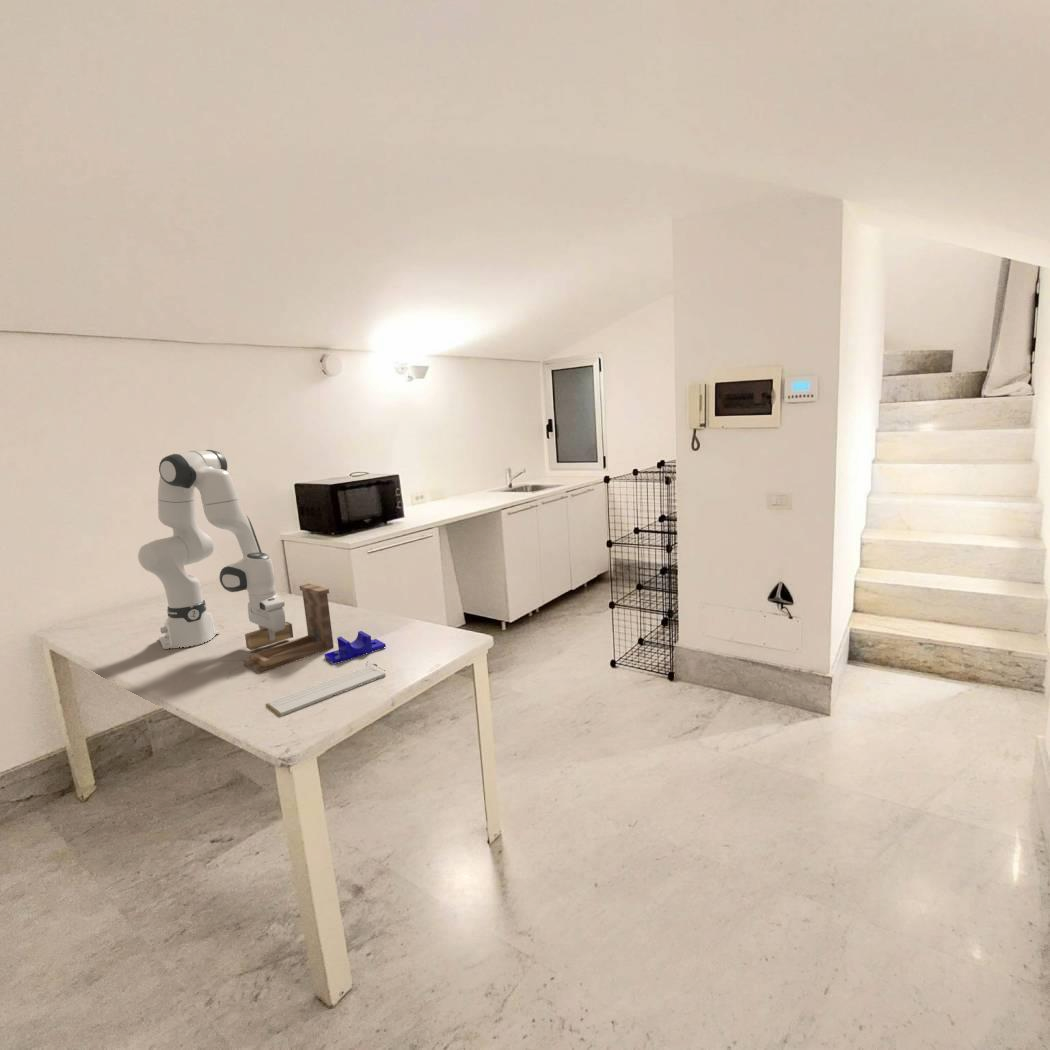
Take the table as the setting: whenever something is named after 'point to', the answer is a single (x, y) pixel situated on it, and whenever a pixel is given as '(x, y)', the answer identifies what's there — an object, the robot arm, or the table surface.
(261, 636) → the oak rail piece
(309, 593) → the wooden l-shaped stand
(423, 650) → the table surface
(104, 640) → the table surface
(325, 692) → the baseboard molding
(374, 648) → the mounting bracket
